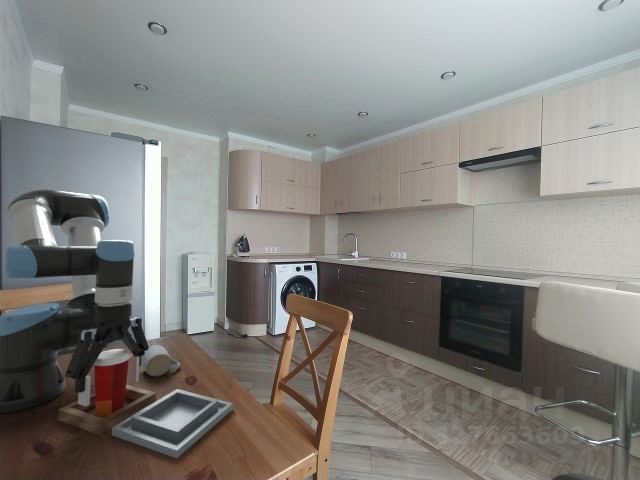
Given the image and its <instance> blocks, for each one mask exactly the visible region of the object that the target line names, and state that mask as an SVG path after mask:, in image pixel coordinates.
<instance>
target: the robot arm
mask: <svg viewBox="0 0 640 480" xmlns="http://www.w3.org/2000/svg"><path fill="white" fill-rule="evenodd" d="M109 213H110V210H109V205H108V203H107V200H106V199H105V198H104V197H103V196H100V195H97V194H96V195H95V194H91V193H77V192H69V191H62V190H61V191H60V190H53V189H37V190H32V191H28V192H25V193H22V194H21V195H18V196H16V197H15V198H14V199H13V200H12V201H10V203H9V205H8V207H7V217H8V220H9V221H10V222H11V223H12V224H13V233H14V245H10V246H7V247H6V248H5V252H4V275H5V277H6V278H8V279H12V280H13V279H15V280H16V279H17V280H18V279H26V280H30V279H31V280H32V279H42V278H56V277H57V278H59V277H61V278H62V277H71V278H70V279H71V291H72V297H71V298H70V299H68V300H67V303H66V306H65V307H61V306H60V304H59V303H58V302H48V303H45V302H44V303H38V304H31V305H27V306H23V307H18V308H15V309H14V308H13V309H12V310H9V311H7V312H5V313H3V314H1V315H0V414H7V413H13V412H18V411H22V410H23V411H24V410H27V409H31V408H33V407H37V406H39V405H40V406H41V405H42V404H44V403H47V402H49V401H52V400H53V399H55V398H58V396H60V395H61V394H62V393H63V392H64V391H65V389H66V379H65V377H66V378H68V379H73V380H74V391H75V392H77V393H78V395H77V400H78V404H80V405H83V406H88V405H90V395H91V379H92V376H91V375H88V374H89V373H90V371H91V370H92V367H94V365H93V364H94V363H95V361H96V360H97V358H98V356H99V355H100V353H101V352H103V349H105V348H106V347H107V346H108V344H111V343H114V342H115V341H122V343H123V345H125V346H126V347H127V350H128V351H130V352H131V354H130V355H131V357H130V359H129V364H128V375H127V381H128V382H133V383H137V382H139V381H140V380H139V378H140V377H139V376H140V375H139V374H140V373H139V372H140V368H141V367H142V364H141V356H144V355H145V352H144V351H147V350H148V349H149V347H150V346H149V344H148V341H147V338H146V336H145V333H144V332H145V331H144V329H143V327H142V325H143V324H142V323H143V322H142V321H143V320H142V318H141V317H136V316H133V317H132V312H133V310H132V309H133V307H132V306H133V303H132V302H131V301H132V299H133V287H134V286H133V285H134V284H133V281H134V280H133V279H134V262H135V261H134V260H135V249H134V248H135V247H134V246H135V245H134V243H133V241H132V240H125V239H123V240H122V239H102V238H101V233H103V231H104V230H105V228H106V227H108V225H109V221H110V214H109ZM52 226H56V227H57V226H60V230H61V232H63V234H65V235H67V241H68V245H57V240H56V237H55V233H54V230H53V227H52ZM129 328H130V329H131V332H132V334H133V335H132V334H131V332H130V331H129ZM132 336H133V337H132ZM73 349H74V351H73V354H72V356H71V359H70V361H69V364H68V366H67V369H66V371H65V373H64V374H63V372H62V369H61V367H60V364H59V362H58V356H59V355H58V353H59V352H62V351H68V350H73Z"/></svg>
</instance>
